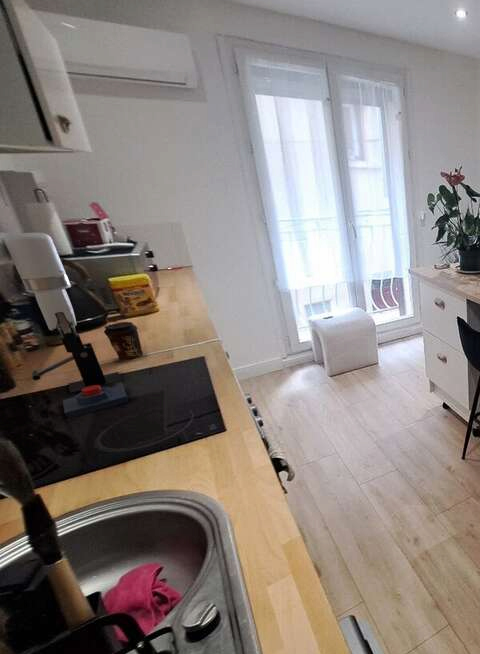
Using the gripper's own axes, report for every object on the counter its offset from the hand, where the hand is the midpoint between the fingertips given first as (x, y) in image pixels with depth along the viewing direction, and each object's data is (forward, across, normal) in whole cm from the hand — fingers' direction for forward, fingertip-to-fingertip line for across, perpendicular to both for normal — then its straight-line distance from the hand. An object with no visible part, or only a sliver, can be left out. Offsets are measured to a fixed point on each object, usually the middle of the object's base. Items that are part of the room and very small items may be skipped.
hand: (76, 350), depth 109 cm
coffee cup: (+17, -35, +11) cm, 40 cm away
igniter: (+17, 0, 0) cm, 17 cm away
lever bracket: (+17, -17, +1) cm, 24 cm away
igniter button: (+13, 0, 0) cm, 13 cm away
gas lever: (+8, -17, -4) cm, 19 cm away
